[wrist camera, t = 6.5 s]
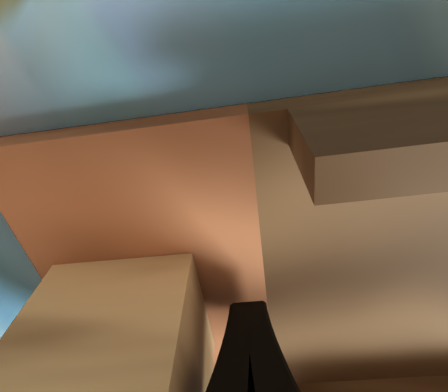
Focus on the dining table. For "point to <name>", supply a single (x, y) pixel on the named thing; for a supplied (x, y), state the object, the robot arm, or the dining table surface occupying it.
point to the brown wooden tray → (269, 220)
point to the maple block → (112, 330)
